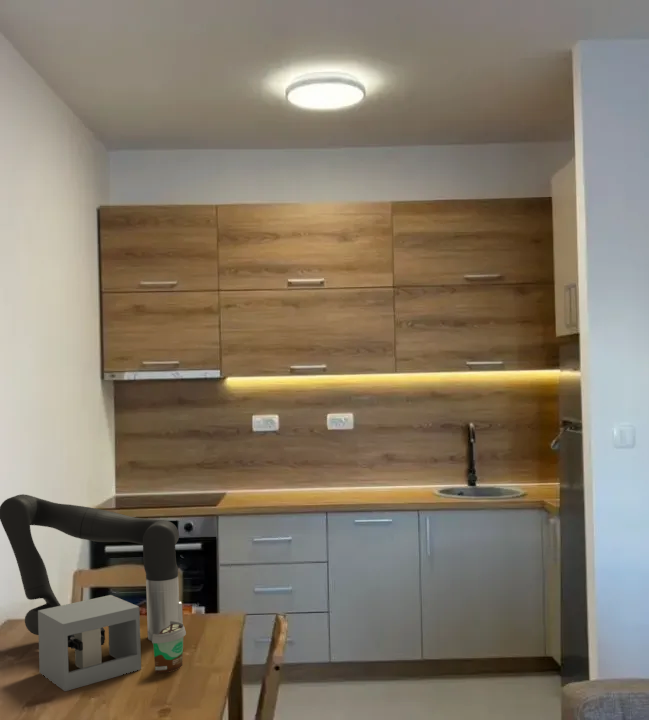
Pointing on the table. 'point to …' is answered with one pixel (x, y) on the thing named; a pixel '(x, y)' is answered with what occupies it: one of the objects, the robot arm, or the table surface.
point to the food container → (169, 647)
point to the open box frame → (88, 617)
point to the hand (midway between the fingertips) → (92, 643)
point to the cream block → (89, 648)
